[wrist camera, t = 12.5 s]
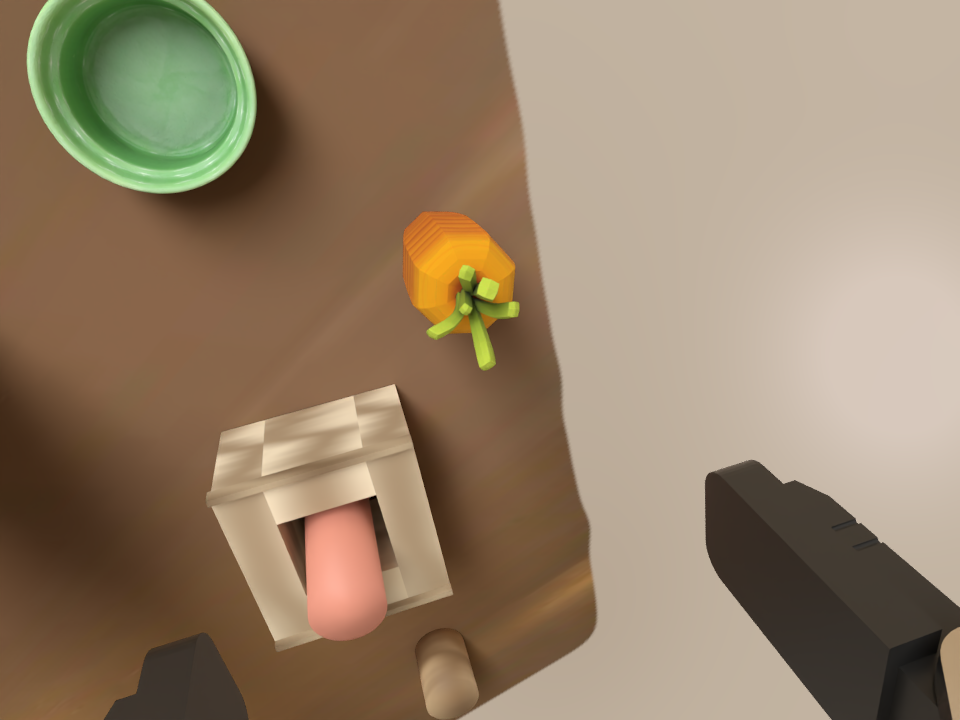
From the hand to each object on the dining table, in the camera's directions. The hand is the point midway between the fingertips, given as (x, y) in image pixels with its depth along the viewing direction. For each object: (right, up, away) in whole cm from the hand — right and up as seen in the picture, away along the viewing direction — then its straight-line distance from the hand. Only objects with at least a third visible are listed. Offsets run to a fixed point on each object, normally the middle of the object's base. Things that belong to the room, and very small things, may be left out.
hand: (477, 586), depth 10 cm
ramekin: (-15, +17, +22) cm, 32 cm away
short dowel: (-3, -20, +43) cm, 48 cm away
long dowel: (-10, -4, +34) cm, 35 cm away
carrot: (-3, +11, +28) cm, 31 cm away
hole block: (-10, -4, +34) cm, 36 cm away
